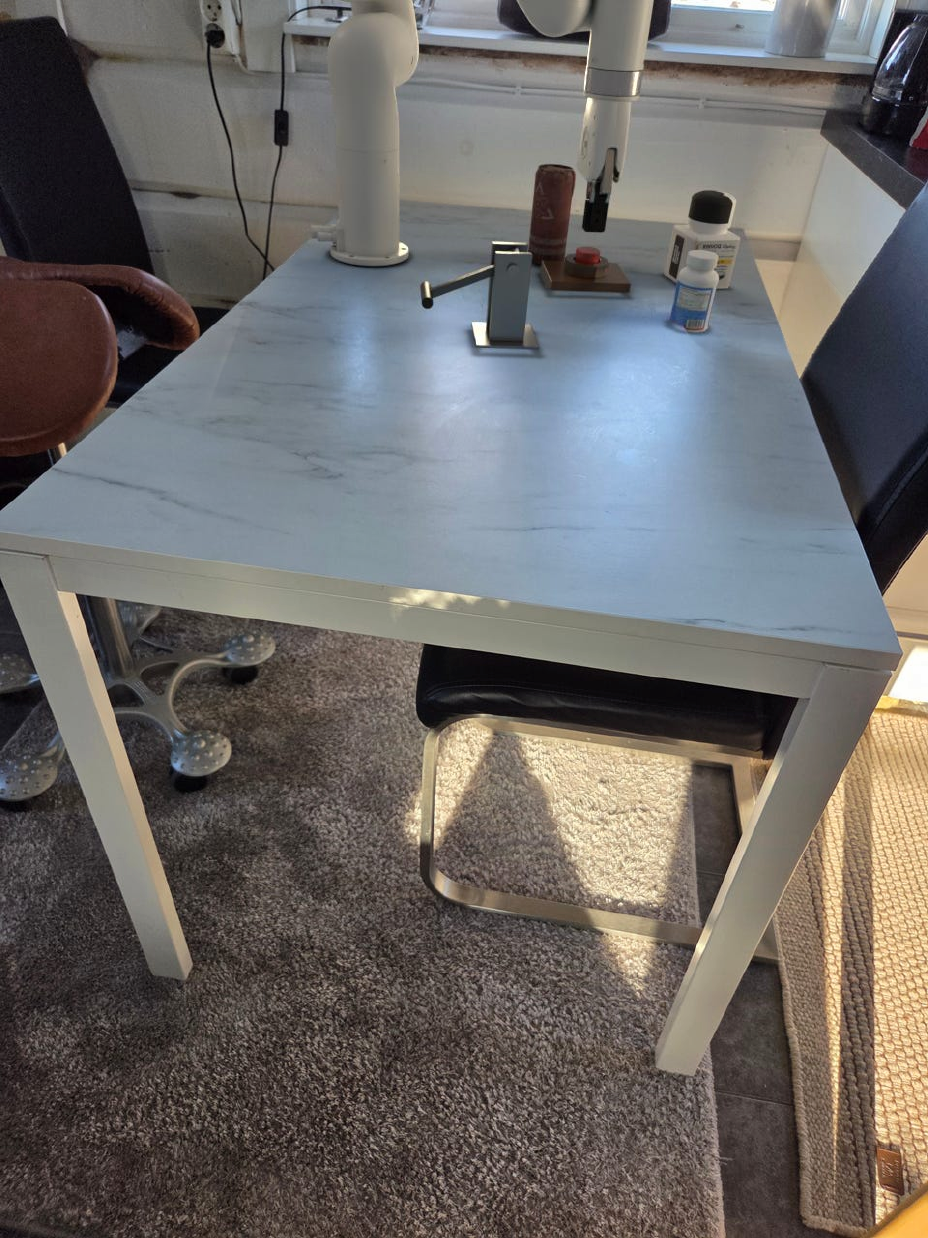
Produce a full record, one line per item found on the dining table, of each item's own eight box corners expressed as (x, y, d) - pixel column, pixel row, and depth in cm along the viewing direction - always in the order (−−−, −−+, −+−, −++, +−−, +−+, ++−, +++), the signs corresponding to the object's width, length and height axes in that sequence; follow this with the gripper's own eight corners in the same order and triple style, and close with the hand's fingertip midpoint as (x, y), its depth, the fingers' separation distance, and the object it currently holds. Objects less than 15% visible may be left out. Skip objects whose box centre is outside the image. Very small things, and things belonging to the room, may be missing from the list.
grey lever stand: (475, 354, 105) (482, 256, 97) (470, 330, 111) (476, 237, 103) (538, 356, 105) (549, 258, 98) (529, 332, 111) (539, 239, 104)
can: (563, 269, 134) (575, 172, 125) (524, 264, 135) (534, 168, 126) (567, 258, 138) (579, 165, 130) (529, 254, 139) (539, 160, 130)
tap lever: (425, 314, 102) (418, 295, 100) (423, 297, 106) (417, 279, 105) (527, 276, 100) (521, 256, 98) (521, 261, 104) (515, 242, 103)
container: (684, 290, 129) (704, 199, 120) (662, 274, 134) (680, 186, 126) (728, 289, 130) (751, 199, 122) (705, 273, 136) (725, 186, 128)
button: (577, 265, 124) (578, 252, 123) (573, 257, 127) (574, 245, 125) (600, 266, 124) (602, 253, 123) (596, 258, 127) (597, 246, 126)
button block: (549, 296, 123) (553, 268, 121) (540, 274, 131) (543, 248, 128) (628, 298, 124) (633, 271, 122) (614, 277, 132) (618, 250, 129)
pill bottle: (679, 316, 119) (695, 245, 113) (713, 326, 117) (731, 254, 111) (661, 326, 116) (676, 253, 110) (695, 336, 114) (713, 262, 107)
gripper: (575, 75, 116) (560, 216, 128) (595, 91, 105) (577, 244, 116) (627, 78, 117) (607, 218, 129) (653, 93, 105) (629, 245, 117)
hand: (593, 230), depth 122 cm, fingers closed
